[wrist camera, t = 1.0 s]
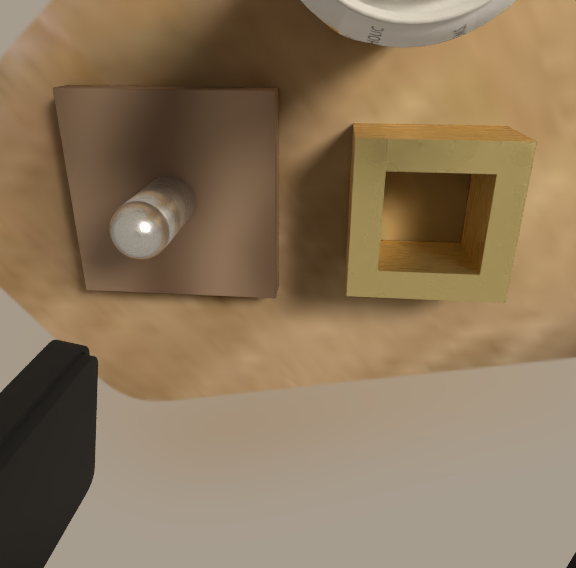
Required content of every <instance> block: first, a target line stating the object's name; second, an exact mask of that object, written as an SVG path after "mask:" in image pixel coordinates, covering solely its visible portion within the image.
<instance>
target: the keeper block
mask: <svg viewBox="0 0 576 568" xmlns="http://www.w3.org/2000/svg"><path fill="white" fill-rule="evenodd" d="M53 93H54V99H55V105H56V111H57V117H58V123H59V129H60V135H61V141H62V147H63V153H64V159H65V165H66V171H67V177H68V183H69V189H70V195H71V201H72V207H73V213H74V219H75V225H76V231H77V237H78V243H79V249H80V255H81V261H82V267H83V273H84V279H85V285H86V290H101V291H124V292H146V293H169V294H192V295H214V296H237V297H260V298H276V295H277V291H278V287H279V177H278V88H236V87H165V86H94V85H66V86H60V87H55V88H53Z"/></svg>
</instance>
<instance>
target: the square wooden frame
mask: <svg viewBox="0 0 576 568" xmlns="http://www.w3.org/2000/svg"><path fill="white" fill-rule="evenodd" d="M536 145H537V142H536V141H535V140H533V139H531V138H529V137H527V136H525V135H523V134H521V133H520V132H518V131H516V130H514V129H512V128H510V127H508V126H468V125H415V124H362V123H353V137H352V156H351V174H350V192H349V210H348V228H347V247H346V296H355V297H378V298H401V299H424V300H447V301H470V302H493V303H506V298H507V293H508V287H509V282H510V277H511V272H512V267H513V262H514V257H515V252H516V247H517V242H518V236H519V231H520V226H521V221H522V216H523V211H524V206H525V201H526V196H527V191H528V185H529V180H530V175H531V170H532V165H533V160H534V155H535V150H536ZM386 171H391V172H430V173H469V174H471V180H470V187H469V194H468V200H467V207H466V214H465V220H464V227H463V234H462V240H461V243H448V242H420V241H392V240H380V236H381V224H382V212H383V200H384V188H385V176H386Z"/></svg>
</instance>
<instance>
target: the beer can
mask: <svg viewBox="0 0 576 568" xmlns="http://www.w3.org/2000/svg"><path fill="white" fill-rule="evenodd" d="M301 1H302V2H303V3H304V5H305V6H306V7H307V8H308V9H309V10H310V11H311V12H313V13H314V14H315V15H316V16H317V17H318V18H319V19H320V20H322V21H323V22H324V23H325V24H326V25H327V26H329V27H330V28H331V29H332V30H334V31H335V32H337V33H338V34H340V35H343V36H345V37H347V38H350V39H353V40H357V41H362V42H366V43H371V44H376V45H381V46H387V47H403V48H405V47H421V46H426V45H432V44H437V43H441V42H444V41H448V40H451V39H454V38H457V37H459V36H462V35H464V34H466V33H468V32H471V31H473V30H475V29H477V28H478V27H480V26H482V25H484V24H485V23H487V22H489V21H491V20H492V19H493V18H495V17H496V16H498V15H499V14H500V13H502V12H503V11H504V10H506V9H507V8H508V7H510V6H511V5H512V4H513V3H514V2H515V1H516V0H301Z"/></svg>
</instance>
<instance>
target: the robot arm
mask: <svg viewBox="0 0 576 568" xmlns="http://www.w3.org/2000/svg"><path fill="white" fill-rule="evenodd" d="M97 379H98V360H97V358H96V357H95V356H90V354H89V349H88V347H86V346H83V345H79V344H74V343H69V342H65V341H60V340H53V341H51V342H50V343H49V344H48V345H47V346H46V347H45V348H44V349H43V350H42V351H41V352H40V353H39V354H38V355H37V356H36V357H35V358H34V359H33V360H32V361H31V362H30V363H29V364H28V365H27V366H26V367H25V368H24V369H23V370H22V371H21V372H20V373H19V374H18V375H17V376H16V377H15V378H14V379H13V380H12V381H11V382H10V383H9V385H7V386H6V388H4V390H3V391H2V392H1V393H0V568H44V566H45V564H46V563H47V561H48V559H49V557H50V556H51V554H52V552H53V550H54V549H55V547H56V545H57V543H58V542H59V540H60V538H61V537H62V535H63V533H64V531H65V530H66V528H67V526H68V524H69V523H70V521H71V519H72V517H73V516H74V514H75V512H76V511H77V509H78V507H79V505H80V504H81V502H82V500H83V498H84V497H85V495H86V493H87V491H88V489H89V487H90V485H91V482H92V479H93V475H94V468H95V440H96V410H97ZM567 568H576V553H575V554H574V556H573V558H572V559H571V561H570V563H569V564H568V566H567Z"/></svg>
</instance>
